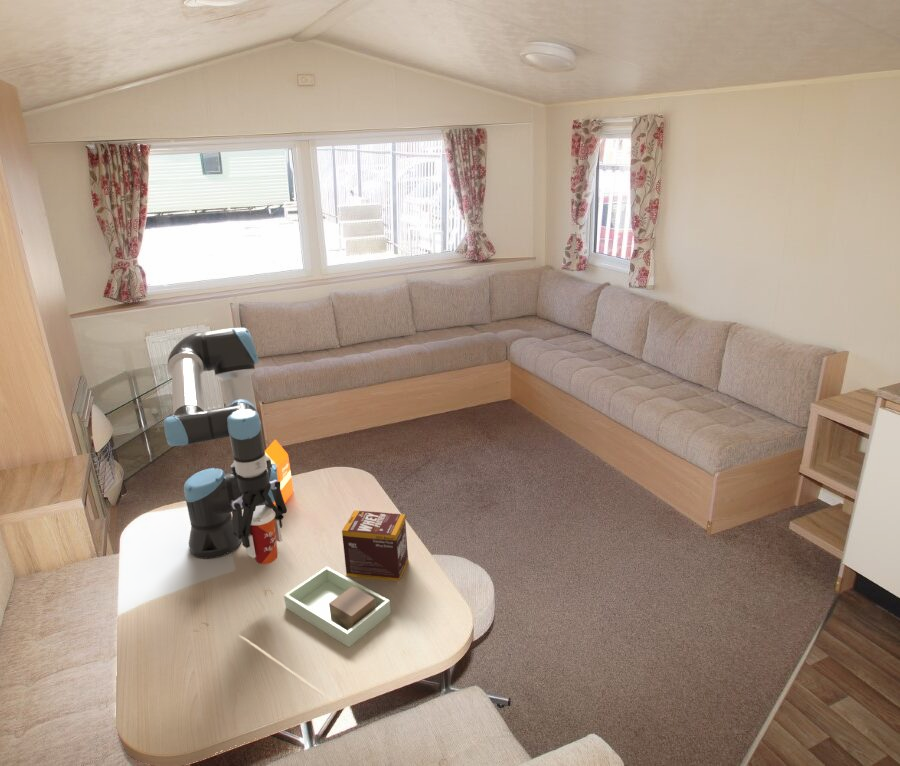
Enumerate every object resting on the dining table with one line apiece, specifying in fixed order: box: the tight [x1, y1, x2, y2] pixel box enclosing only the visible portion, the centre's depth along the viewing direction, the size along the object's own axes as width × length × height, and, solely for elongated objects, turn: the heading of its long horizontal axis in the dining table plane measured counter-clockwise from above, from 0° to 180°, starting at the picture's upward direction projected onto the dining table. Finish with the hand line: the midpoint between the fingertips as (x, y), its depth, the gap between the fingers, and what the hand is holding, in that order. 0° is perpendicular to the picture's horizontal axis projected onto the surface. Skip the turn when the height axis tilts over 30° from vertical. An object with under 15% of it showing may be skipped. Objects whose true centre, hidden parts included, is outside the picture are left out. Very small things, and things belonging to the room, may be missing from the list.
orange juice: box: [264, 439, 294, 506], centre depth 221 cm, size 8×9×20 cm
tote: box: [283, 566, 392, 648], centre depth 170 cm, size 24×15×5 cm, turn 52°
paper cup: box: [249, 505, 278, 565], centre depth 171 cm, size 8×8×14 cm
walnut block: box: [329, 586, 376, 631], centre depth 166 cm, size 8×8×6 cm
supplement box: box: [341, 510, 409, 582], centre depth 184 cm, size 10×15×16 cm
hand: (264, 547), depth 172 cm, fingers closed on paper cup, 8 cm apart
